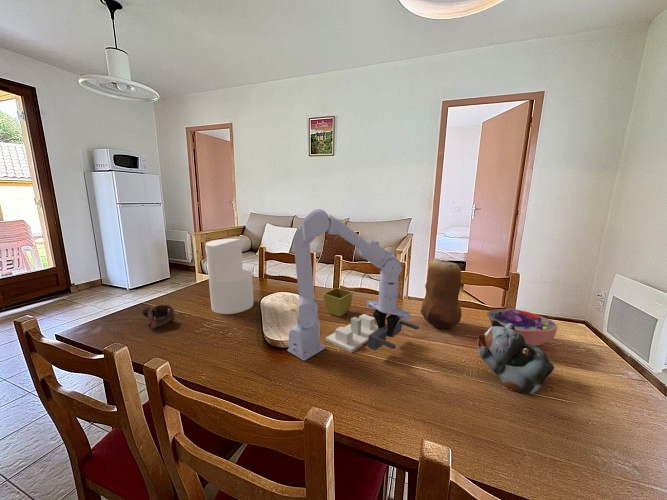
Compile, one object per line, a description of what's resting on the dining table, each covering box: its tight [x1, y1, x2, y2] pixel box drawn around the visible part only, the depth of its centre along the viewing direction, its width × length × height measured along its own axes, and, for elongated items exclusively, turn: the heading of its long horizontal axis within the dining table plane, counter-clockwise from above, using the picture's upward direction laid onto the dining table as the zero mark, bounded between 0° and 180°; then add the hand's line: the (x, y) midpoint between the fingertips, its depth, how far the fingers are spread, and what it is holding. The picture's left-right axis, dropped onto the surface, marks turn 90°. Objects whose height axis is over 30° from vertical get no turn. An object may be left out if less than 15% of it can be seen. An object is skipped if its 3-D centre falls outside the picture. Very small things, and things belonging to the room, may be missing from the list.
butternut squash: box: [420, 259, 462, 329], centre depth 102 cm, size 14×13×25 cm
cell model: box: [486, 308, 559, 347], centre depth 93 cm, size 17×20×11 cm
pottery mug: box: [141, 303, 176, 330], centre depth 104 cm, size 12×10×8 cm
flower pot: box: [323, 287, 354, 317], centre depth 113 cm, size 9×9×9 cm
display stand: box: [325, 313, 378, 354], centre depth 97 cm, size 19×11×6 cm, turn 138°
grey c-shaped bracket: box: [367, 318, 420, 351], centre depth 87 cm, size 16×8×4 cm, turn 138°
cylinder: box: [205, 238, 255, 315], centre depth 118 cm, size 17×17×28 cm
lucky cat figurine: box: [476, 320, 555, 395], centre depth 76 cm, size 17×14×16 cm
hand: (385, 333), depth 89 cm, fingers closed on grey c-shaped bracket, 2 cm apart
